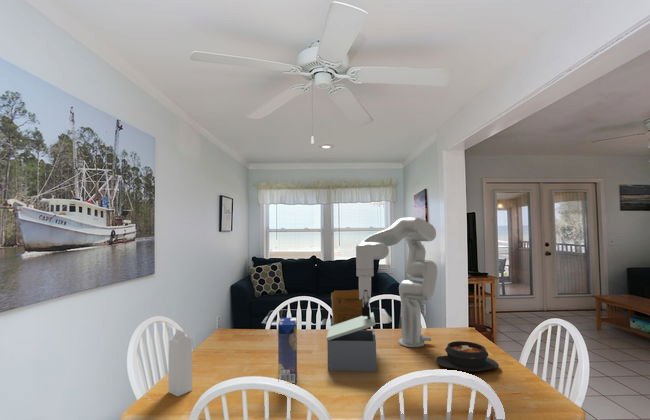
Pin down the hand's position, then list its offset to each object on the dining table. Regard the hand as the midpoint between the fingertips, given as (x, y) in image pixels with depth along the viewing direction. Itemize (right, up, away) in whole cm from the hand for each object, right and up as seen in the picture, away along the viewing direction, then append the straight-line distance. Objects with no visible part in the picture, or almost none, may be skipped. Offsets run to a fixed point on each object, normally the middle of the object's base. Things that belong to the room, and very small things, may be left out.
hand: (365, 314), depth 158 cm
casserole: (+42, -21, -5) cm, 47 cm away
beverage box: (-32, -21, -14) cm, 41 cm away
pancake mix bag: (-5, -22, +22) cm, 32 cm away
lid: (-6, -6, 0) cm, 8 cm away
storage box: (-6, -21, 0) cm, 22 cm away
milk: (-71, -21, -25) cm, 78 cm away
